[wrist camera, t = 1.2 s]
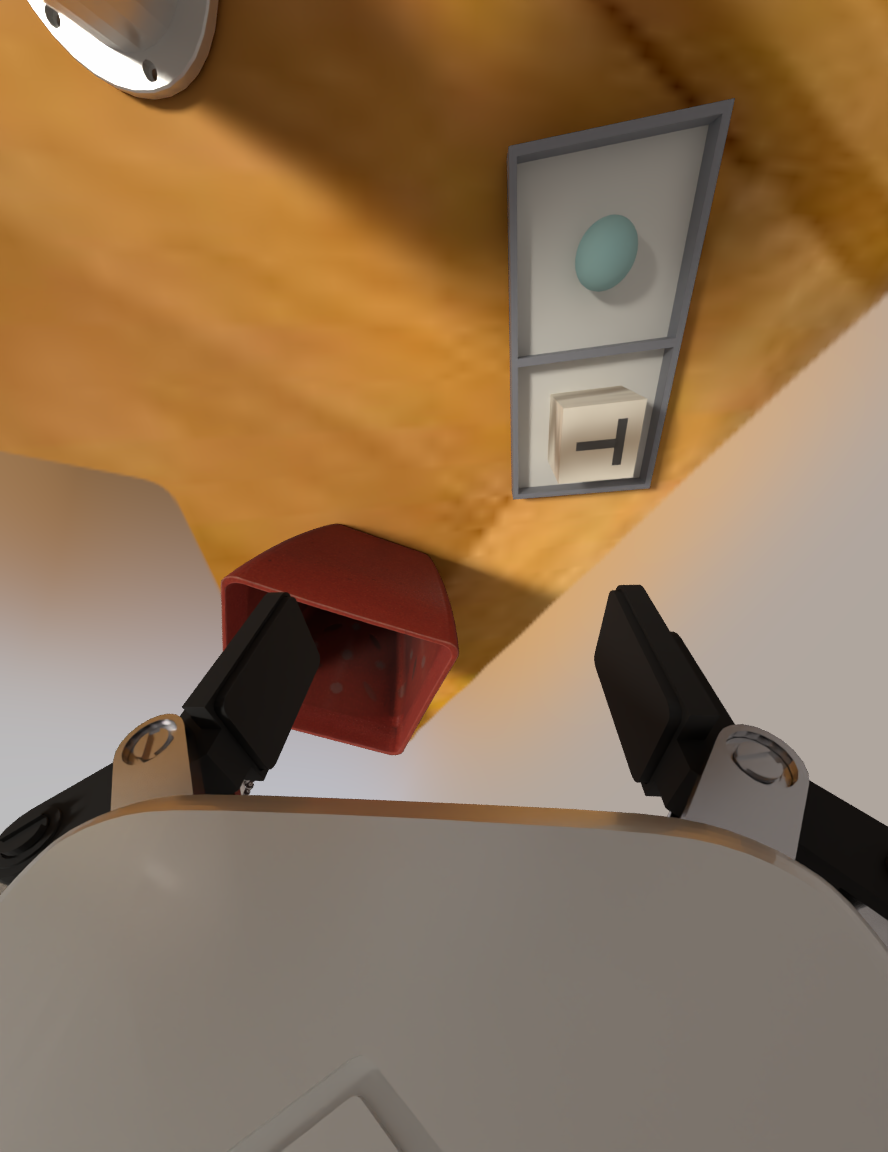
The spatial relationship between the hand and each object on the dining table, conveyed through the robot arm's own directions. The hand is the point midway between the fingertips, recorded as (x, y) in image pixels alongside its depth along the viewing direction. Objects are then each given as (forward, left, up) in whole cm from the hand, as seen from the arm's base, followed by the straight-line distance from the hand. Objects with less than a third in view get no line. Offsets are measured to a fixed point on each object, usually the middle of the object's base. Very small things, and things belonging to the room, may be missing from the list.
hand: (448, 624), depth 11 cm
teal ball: (-10, +10, -28) cm, 32 cm away
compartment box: (-4, +10, -29) cm, 31 cm away
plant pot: (+18, -14, -29) cm, 37 cm away
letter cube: (+2, +10, -28) cm, 30 cm away
